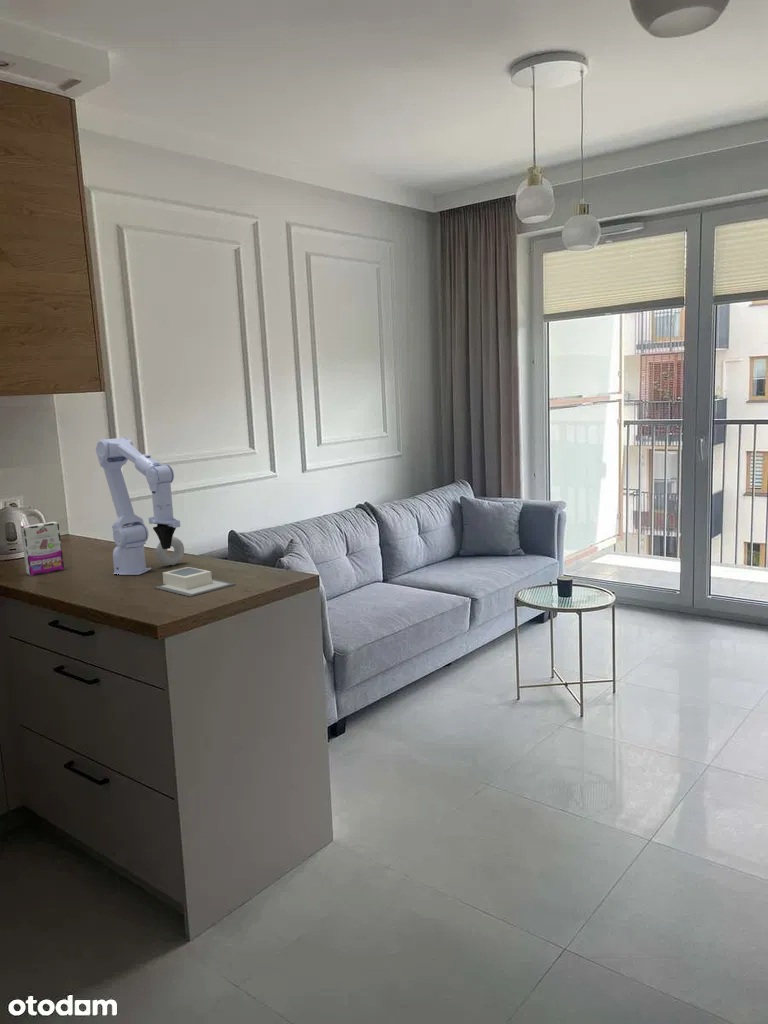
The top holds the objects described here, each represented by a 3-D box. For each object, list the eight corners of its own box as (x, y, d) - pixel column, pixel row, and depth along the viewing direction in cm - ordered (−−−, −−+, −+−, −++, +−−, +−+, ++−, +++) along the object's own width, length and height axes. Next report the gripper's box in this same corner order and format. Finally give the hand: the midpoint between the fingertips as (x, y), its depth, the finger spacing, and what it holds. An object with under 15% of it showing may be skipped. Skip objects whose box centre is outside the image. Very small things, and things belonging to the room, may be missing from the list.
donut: (160, 569, 252) (158, 539, 250) (155, 567, 254) (152, 538, 253) (187, 563, 259) (184, 534, 257) (182, 562, 261) (179, 533, 260)
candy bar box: (60, 567, 261) (54, 520, 258) (64, 570, 257) (59, 522, 254) (25, 573, 254) (19, 525, 251) (29, 576, 250) (23, 527, 247)
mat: (154, 588, 226) (154, 586, 226) (200, 577, 238) (199, 575, 238) (189, 597, 214) (189, 595, 214) (235, 584, 226) (235, 583, 226)
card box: (162, 572, 228) (185, 577, 220) (188, 566, 235) (211, 571, 227) (163, 583, 229) (186, 589, 221) (189, 577, 236) (212, 582, 228)
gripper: (138, 505, 234) (142, 548, 237) (164, 508, 225) (168, 553, 227) (158, 502, 240) (162, 544, 242) (184, 505, 230) (188, 549, 232)
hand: (166, 548), depth 235 cm, fingers closed
